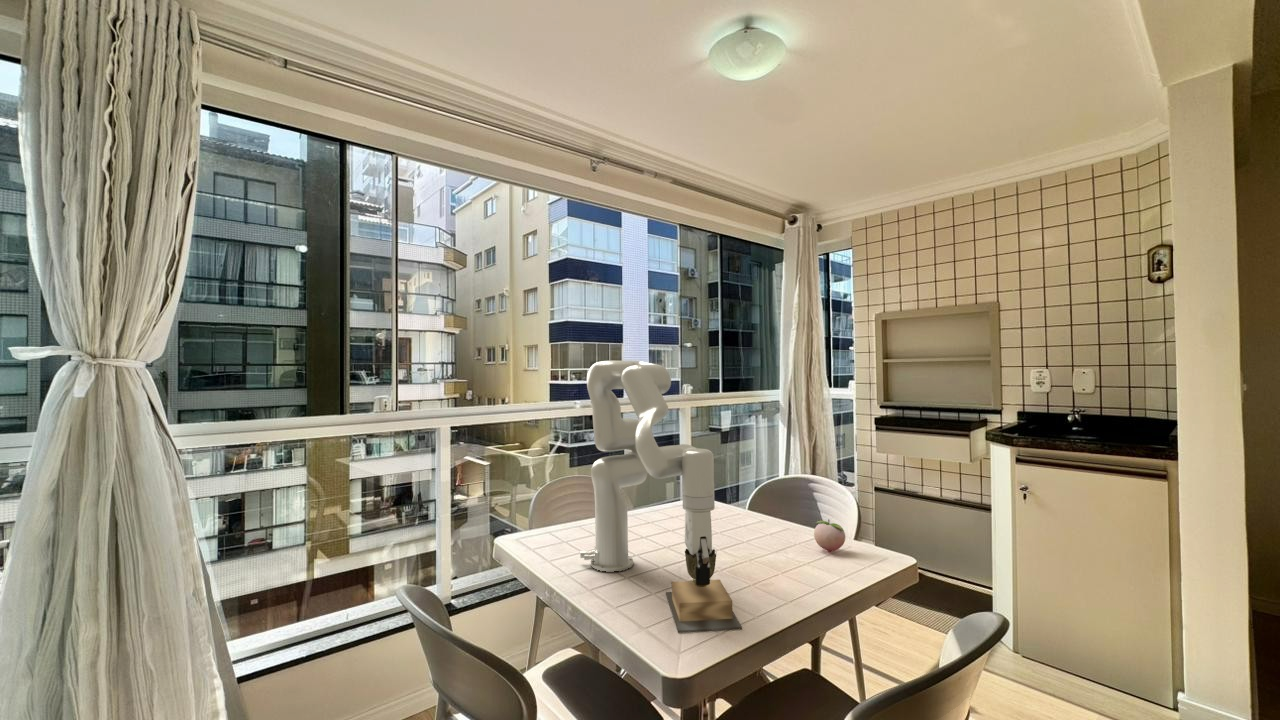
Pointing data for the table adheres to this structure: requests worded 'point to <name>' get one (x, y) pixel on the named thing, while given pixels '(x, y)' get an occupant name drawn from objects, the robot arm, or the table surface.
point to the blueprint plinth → (701, 607)
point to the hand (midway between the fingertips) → (699, 577)
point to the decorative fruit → (829, 535)
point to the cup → (692, 564)
